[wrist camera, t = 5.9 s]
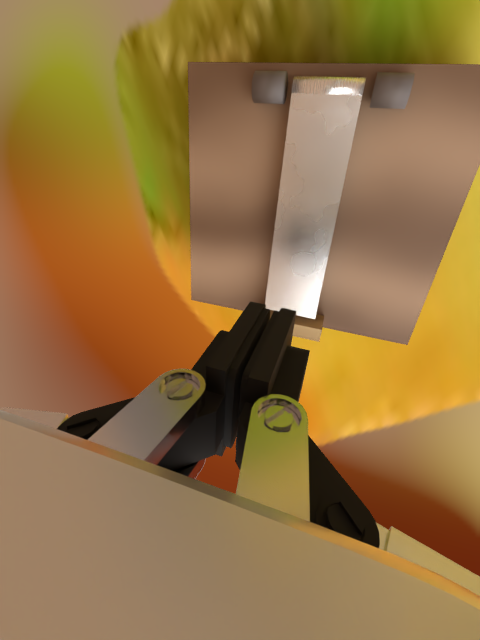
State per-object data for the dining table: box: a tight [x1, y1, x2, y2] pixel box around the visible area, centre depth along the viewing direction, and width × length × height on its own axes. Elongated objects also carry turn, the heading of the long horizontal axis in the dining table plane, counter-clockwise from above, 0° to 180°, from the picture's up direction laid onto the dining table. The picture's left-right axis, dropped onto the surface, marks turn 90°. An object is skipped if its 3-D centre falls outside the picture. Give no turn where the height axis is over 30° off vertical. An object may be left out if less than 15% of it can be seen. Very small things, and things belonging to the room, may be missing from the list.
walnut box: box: [188, 62, 480, 345], centre depth 18 cm, size 13×14×7 cm
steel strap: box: [265, 76, 366, 319], centre depth 16 cm, size 11×3×1 cm, turn 177°
